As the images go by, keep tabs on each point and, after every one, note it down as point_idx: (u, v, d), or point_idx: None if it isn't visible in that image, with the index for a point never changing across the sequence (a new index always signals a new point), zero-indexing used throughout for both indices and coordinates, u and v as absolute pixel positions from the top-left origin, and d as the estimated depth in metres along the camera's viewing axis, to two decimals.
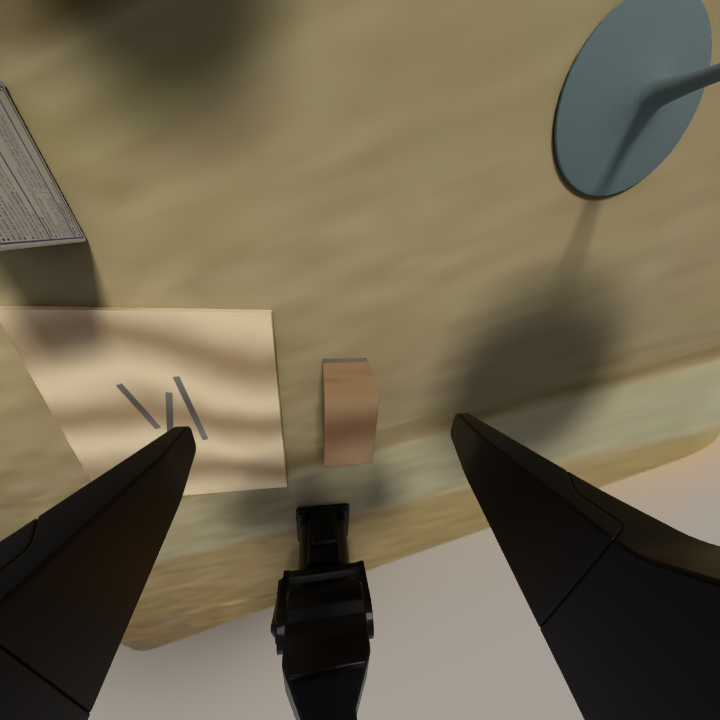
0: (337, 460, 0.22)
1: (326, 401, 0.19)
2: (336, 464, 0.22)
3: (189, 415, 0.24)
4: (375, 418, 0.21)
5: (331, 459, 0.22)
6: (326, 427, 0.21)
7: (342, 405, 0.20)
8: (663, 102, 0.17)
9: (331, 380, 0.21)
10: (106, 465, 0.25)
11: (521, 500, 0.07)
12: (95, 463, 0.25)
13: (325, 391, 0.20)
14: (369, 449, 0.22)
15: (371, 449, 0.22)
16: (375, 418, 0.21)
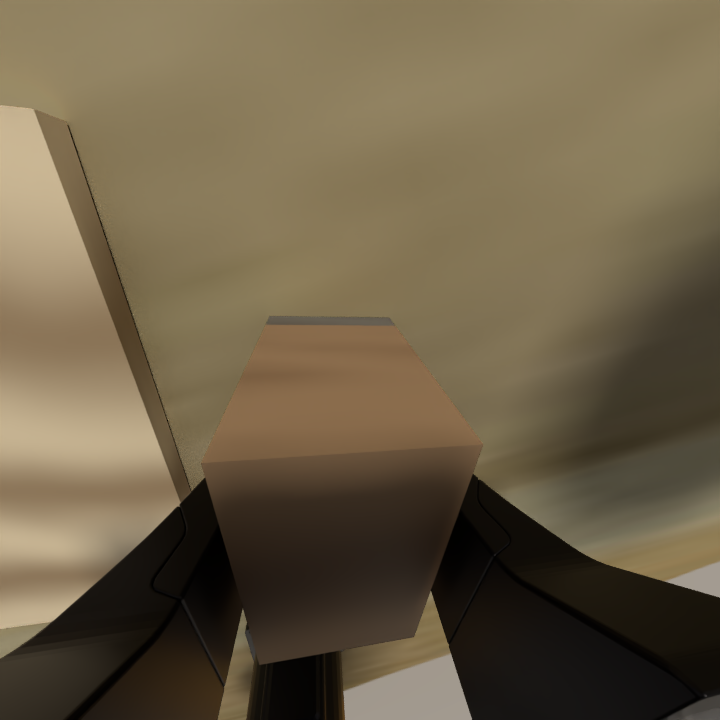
0: (303, 647, 0.07)
1: (217, 482, 0.04)
2: (299, 654, 0.07)
3: None
4: (445, 531, 0.05)
5: (278, 648, 0.06)
6: (242, 574, 0.05)
7: (307, 495, 0.04)
8: None
9: (271, 375, 0.06)
10: None
11: None
12: None
13: (223, 426, 0.04)
14: (410, 611, 0.07)
15: (417, 610, 0.07)
16: (446, 530, 0.05)
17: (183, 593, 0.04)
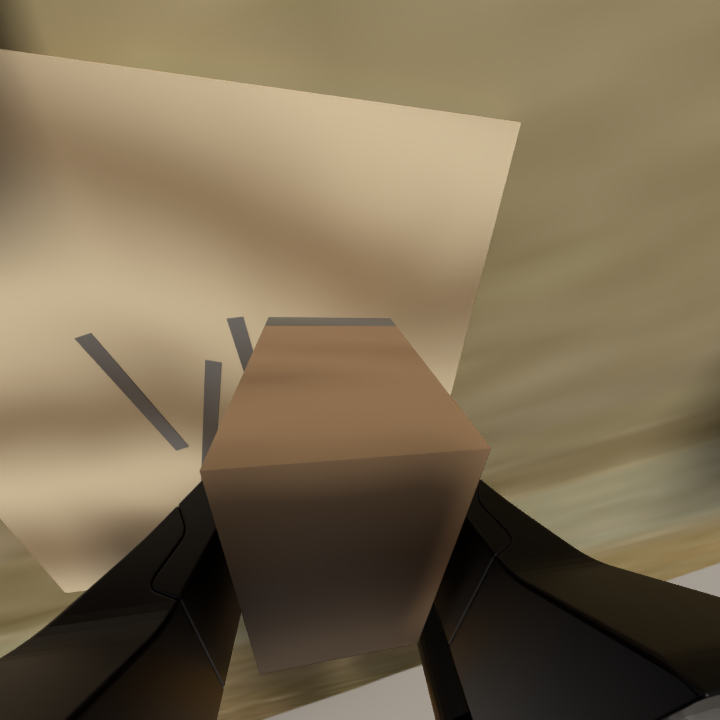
0: (304, 656, 0.06)
1: (216, 491, 0.04)
2: (301, 663, 0.07)
3: None
4: (450, 537, 0.05)
5: (279, 657, 0.06)
6: (242, 584, 0.05)
7: (309, 502, 0.04)
8: None
9: (271, 378, 0.05)
10: (66, 528, 0.12)
11: None
12: (41, 525, 0.11)
13: (222, 432, 0.04)
14: (414, 618, 0.06)
15: (421, 617, 0.06)
16: (452, 535, 0.05)
17: (182, 594, 0.04)
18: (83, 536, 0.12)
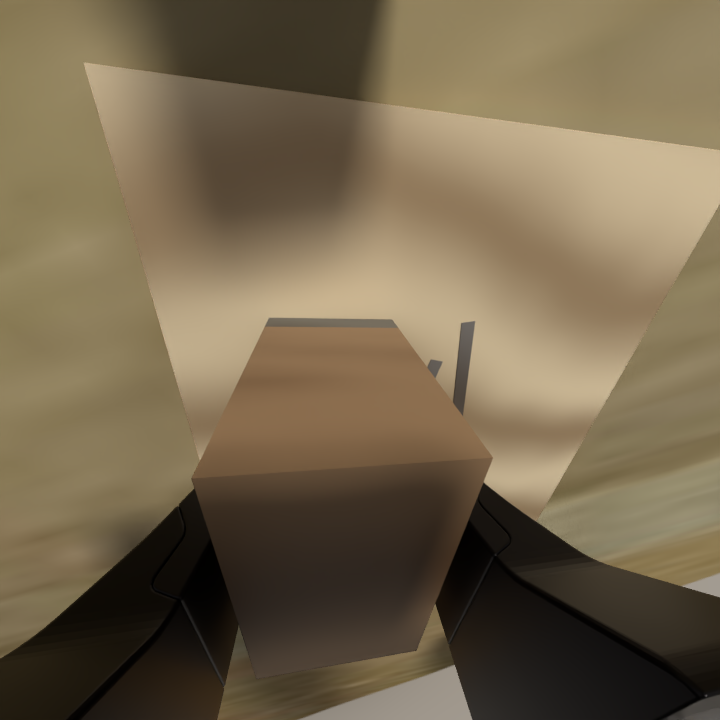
0: (301, 662, 0.06)
1: (208, 498, 0.03)
2: (298, 668, 0.07)
3: None
4: (450, 545, 0.05)
5: (276, 663, 0.06)
6: (237, 591, 0.05)
7: (305, 510, 0.04)
8: None
9: (269, 380, 0.05)
10: None
11: None
12: None
13: (216, 437, 0.04)
14: (413, 625, 0.06)
15: (420, 624, 0.06)
16: (452, 544, 0.05)
17: (182, 594, 0.04)
18: None
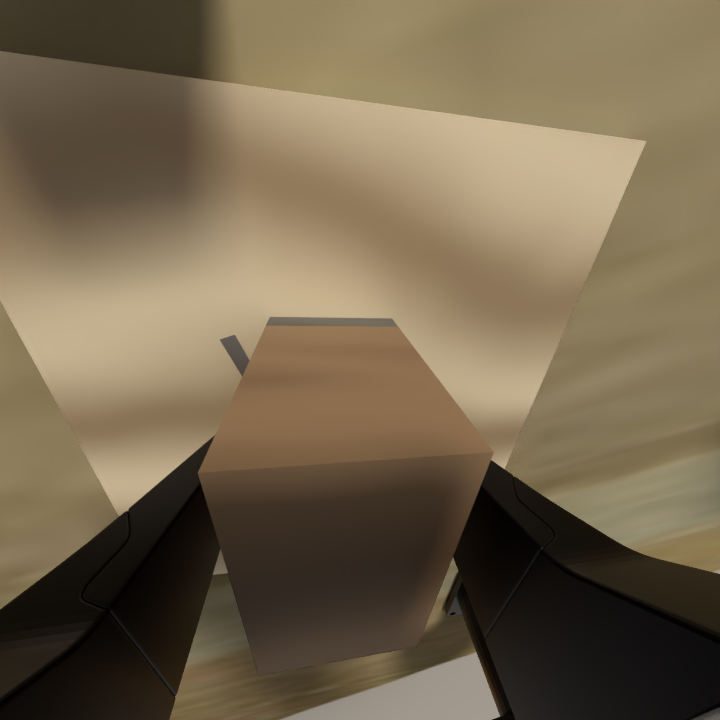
0: (304, 658, 0.06)
1: (214, 493, 0.04)
2: (300, 665, 0.07)
3: None
4: (451, 540, 0.05)
5: (279, 659, 0.06)
6: (240, 586, 0.05)
7: (308, 505, 0.04)
8: None
9: (271, 378, 0.05)
10: None
11: None
12: None
13: (221, 433, 0.04)
14: (414, 621, 0.06)
15: (421, 620, 0.06)
16: (453, 539, 0.05)
17: (112, 603, 0.04)
18: None
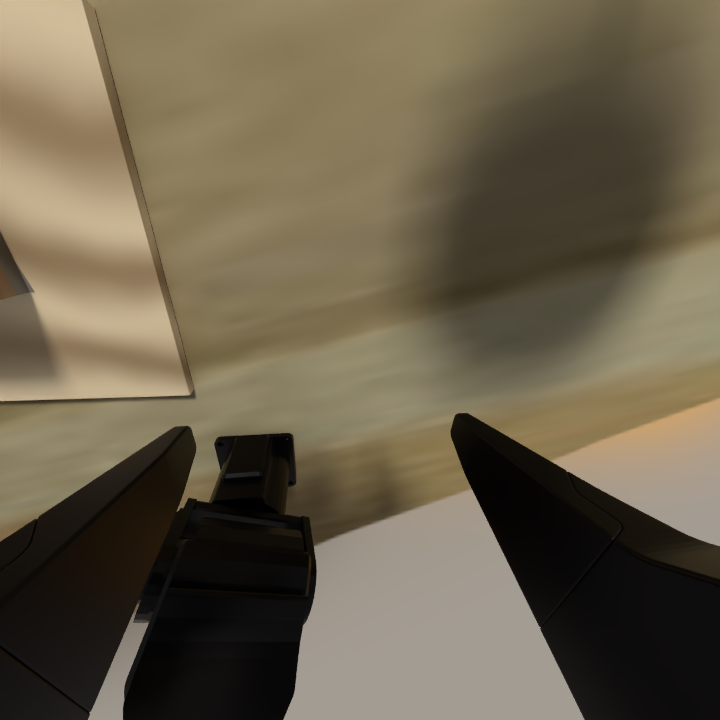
0: None
1: None
2: None
3: None
4: None
5: None
6: None
7: None
8: None
9: None
10: None
11: (521, 500, 0.07)
12: None
13: None
14: None
15: None
16: None
17: None
18: None
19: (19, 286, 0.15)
